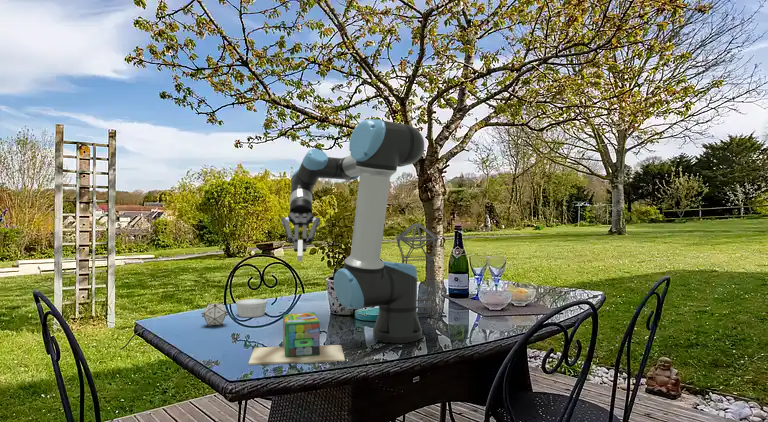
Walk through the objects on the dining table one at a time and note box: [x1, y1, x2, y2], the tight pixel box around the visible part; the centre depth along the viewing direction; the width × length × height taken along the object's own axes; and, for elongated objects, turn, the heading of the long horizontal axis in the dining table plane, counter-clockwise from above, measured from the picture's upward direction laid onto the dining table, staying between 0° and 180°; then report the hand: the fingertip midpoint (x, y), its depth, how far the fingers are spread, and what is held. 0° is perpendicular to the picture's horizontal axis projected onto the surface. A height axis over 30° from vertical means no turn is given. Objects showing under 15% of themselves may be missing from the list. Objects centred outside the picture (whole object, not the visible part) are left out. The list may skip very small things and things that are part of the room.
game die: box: [200, 301, 229, 328], centre depth 161 cm, size 9×8×10 cm
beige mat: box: [248, 344, 346, 366], centre depth 129 cm, size 24×14×1 cm, turn 99°
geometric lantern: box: [394, 222, 441, 316], centre depth 182 cm, size 16×16×35 cm
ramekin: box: [235, 298, 268, 318], centre depth 180 cm, size 11×11×5 cm
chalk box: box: [282, 311, 321, 357], centre depth 130 cm, size 9×9×15 cm
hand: (299, 258), depth 148 cm, fingers closed
